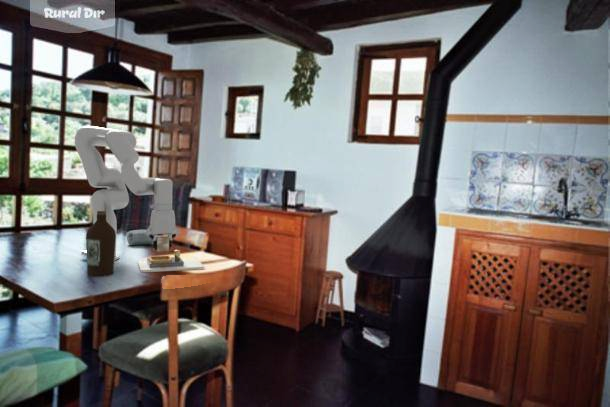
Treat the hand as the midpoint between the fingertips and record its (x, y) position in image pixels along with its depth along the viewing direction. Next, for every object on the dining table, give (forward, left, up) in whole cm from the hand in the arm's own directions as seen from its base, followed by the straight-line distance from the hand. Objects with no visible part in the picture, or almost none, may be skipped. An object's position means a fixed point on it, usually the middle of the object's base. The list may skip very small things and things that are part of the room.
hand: (162, 248), depth 184 cm
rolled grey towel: (-4, +50, -8) cm, 51 cm away
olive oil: (-24, -6, -8) cm, 26 cm away
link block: (0, 0, -1) cm, 1 cm away
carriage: (+1, 0, -7) cm, 7 cm away
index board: (+4, 0, -8) cm, 9 cm away
